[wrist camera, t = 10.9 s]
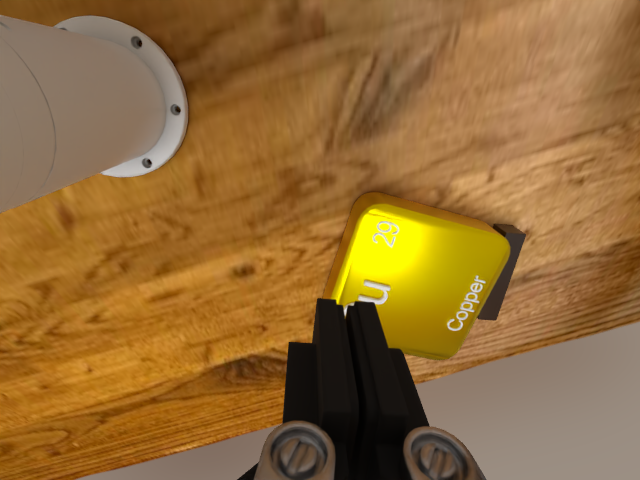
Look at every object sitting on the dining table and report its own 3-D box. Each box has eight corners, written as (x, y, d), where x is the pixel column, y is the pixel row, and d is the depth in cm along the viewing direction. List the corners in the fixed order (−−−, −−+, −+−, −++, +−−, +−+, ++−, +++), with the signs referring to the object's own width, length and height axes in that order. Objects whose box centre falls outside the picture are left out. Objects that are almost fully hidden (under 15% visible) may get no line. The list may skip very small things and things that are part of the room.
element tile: (439, 339, 42) (454, 368, 38) (316, 312, 40) (317, 339, 36) (497, 224, 37) (523, 242, 32) (358, 185, 35) (365, 199, 30)
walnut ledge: (468, 306, 40) (478, 319, 38) (494, 223, 37) (506, 232, 34) (485, 307, 41) (496, 320, 38) (512, 225, 37) (526, 234, 34)
